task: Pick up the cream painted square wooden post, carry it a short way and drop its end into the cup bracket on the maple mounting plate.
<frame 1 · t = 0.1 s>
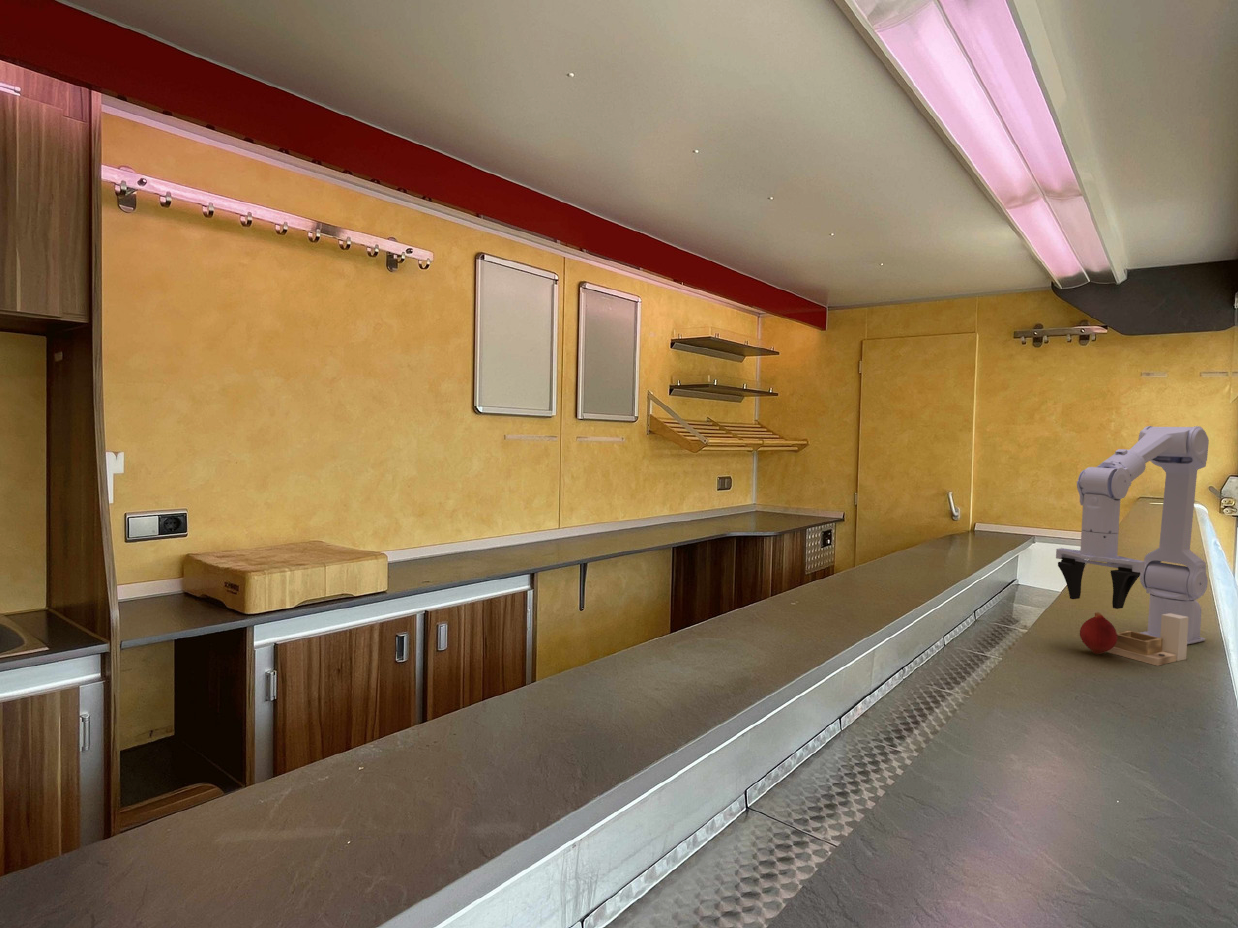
hand: (1095, 603, 131), 10 cm above the counter, tool pointing down, fingers open, 7 cm apart
onion: (1097, 655, 132), on the counter
post: (1172, 657, 131), on the counter
bracket: (1136, 655, 132), on the counter
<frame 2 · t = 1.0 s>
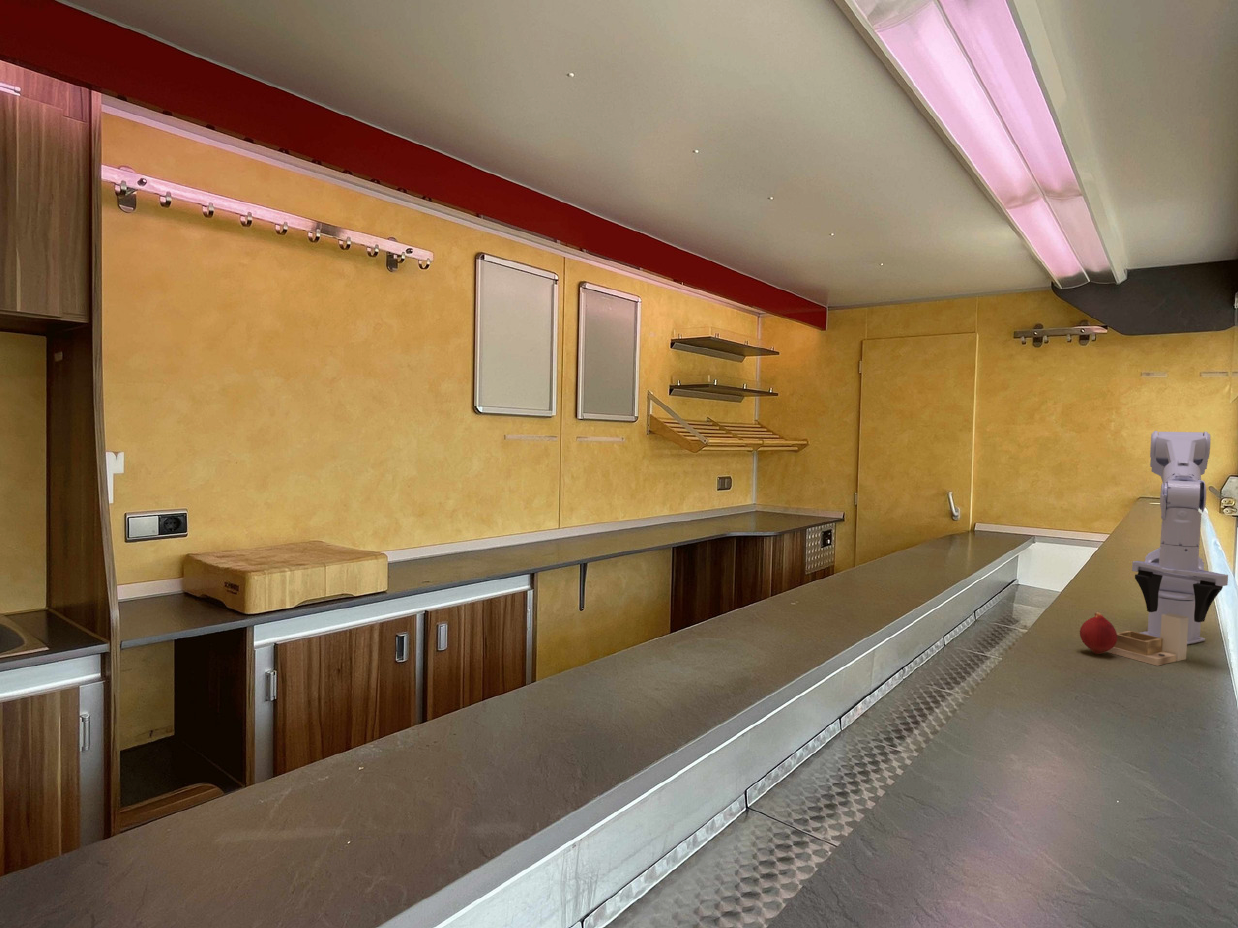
hand: (1175, 616, 131), 8 cm above the counter, tool pointing down, fingers open, 7 cm apart
nothing on the counter moved.
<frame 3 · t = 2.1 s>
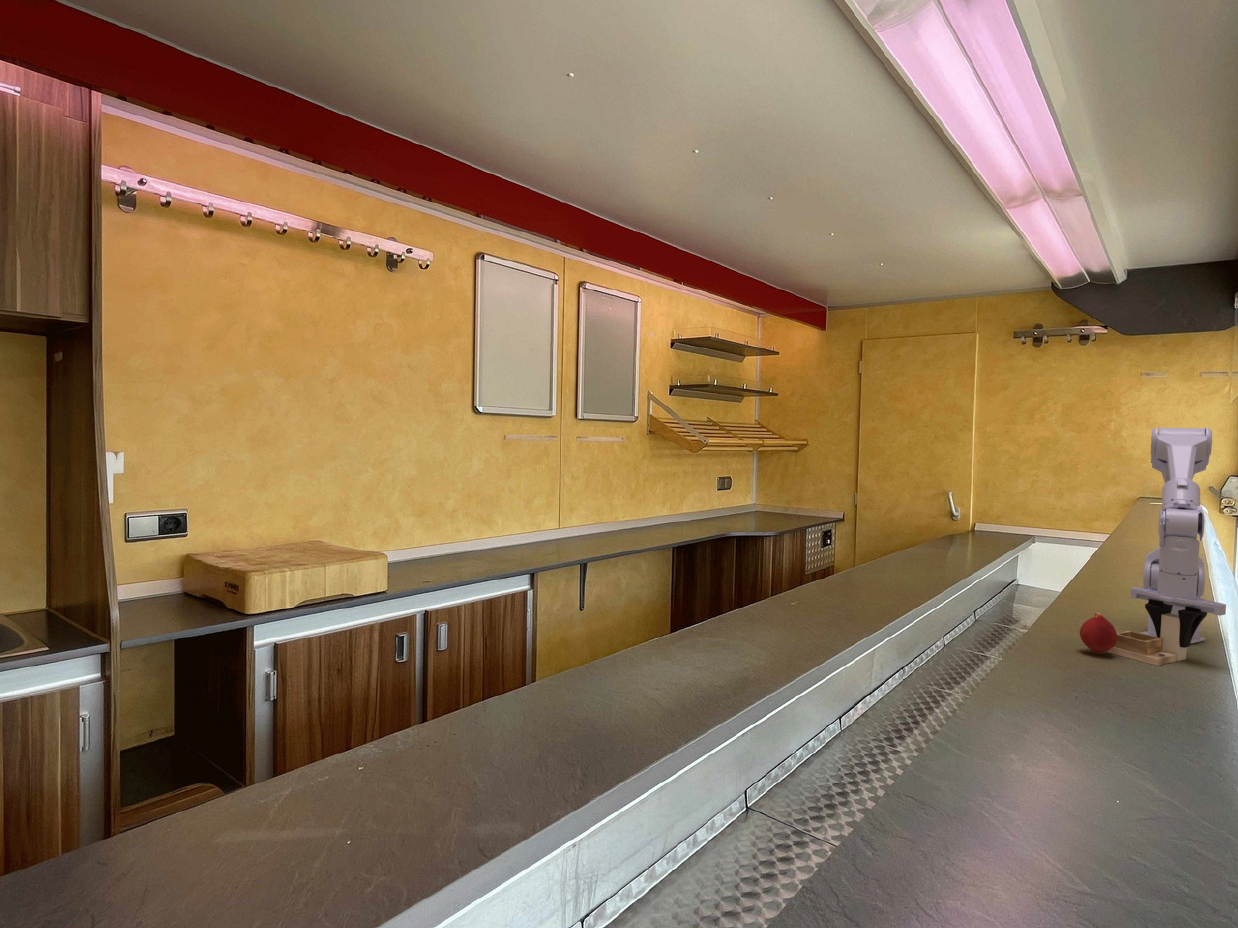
hand: (1173, 643, 131), 3 cm above the counter, tool pointing down, fingers closed on post, 3 cm apart
post: (1172, 657, 131), on the counter, touching gripper
everything else where it was.
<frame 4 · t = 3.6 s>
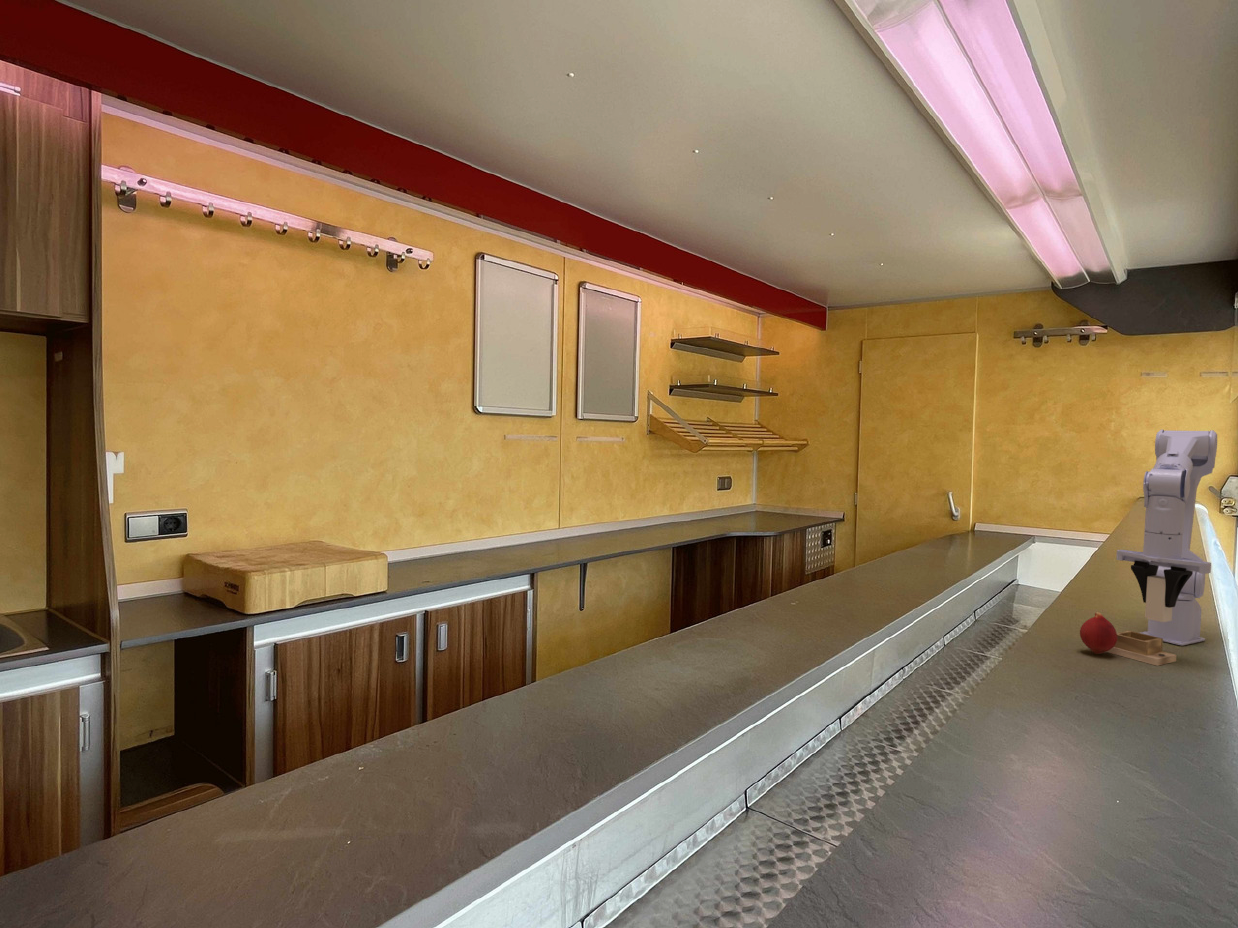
hand: (1158, 604, 131), 10 cm above the counter, tool pointing down, fingers closed on post, 3 cm apart
post: (1158, 619, 131), point 7 cm above the counter, touching gripper
everything else where it was.
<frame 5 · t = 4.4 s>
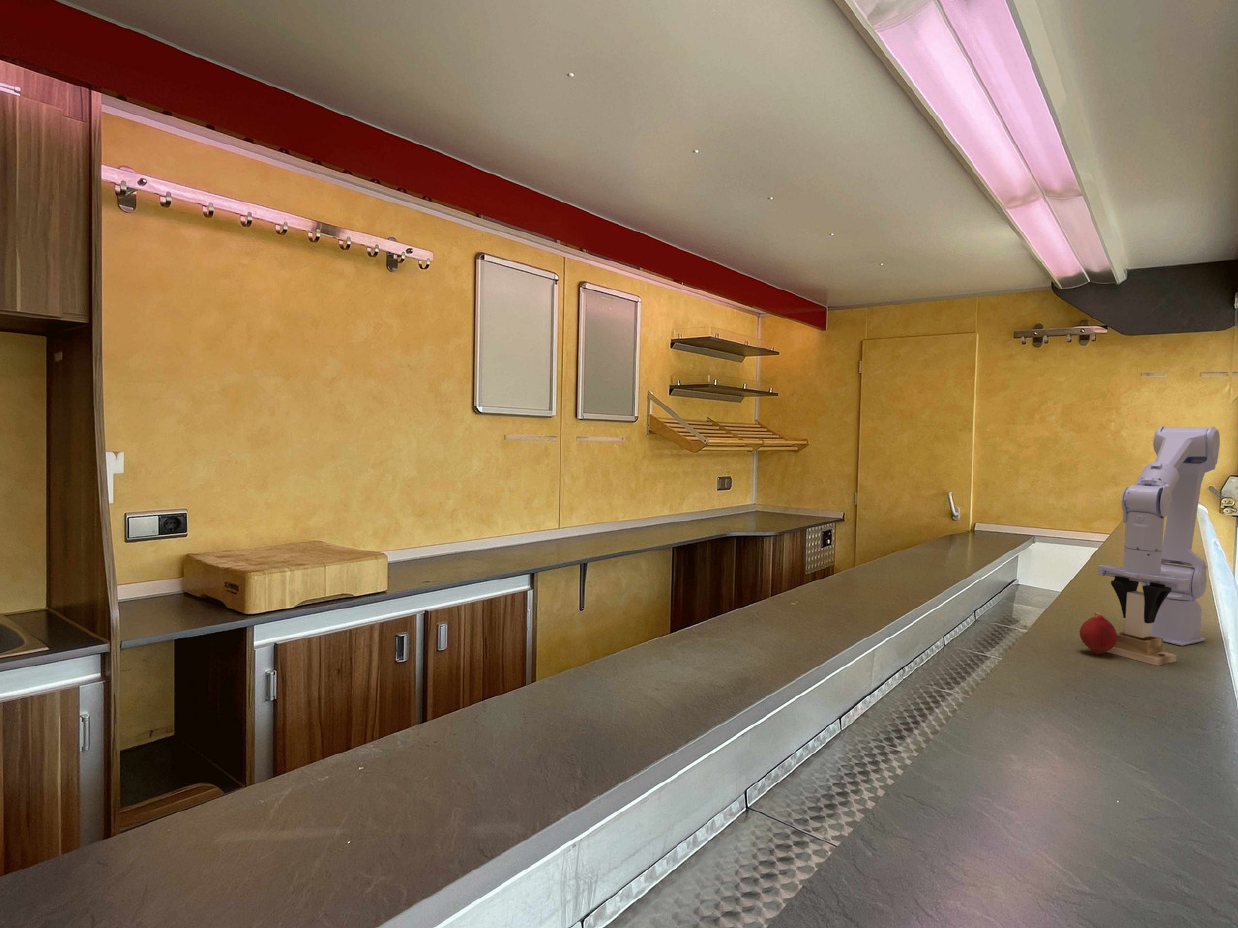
hand: (1138, 620, 131), 7 cm above the counter, tool pointing down, fingers closed on post, 3 cm apart
post: (1137, 634, 132), point 4 cm above the counter, touching gripper
everything else where it was.
when the fingers open (5 cm above the counter, at t = 5.1 s): post stays where it is, resting on bracket.
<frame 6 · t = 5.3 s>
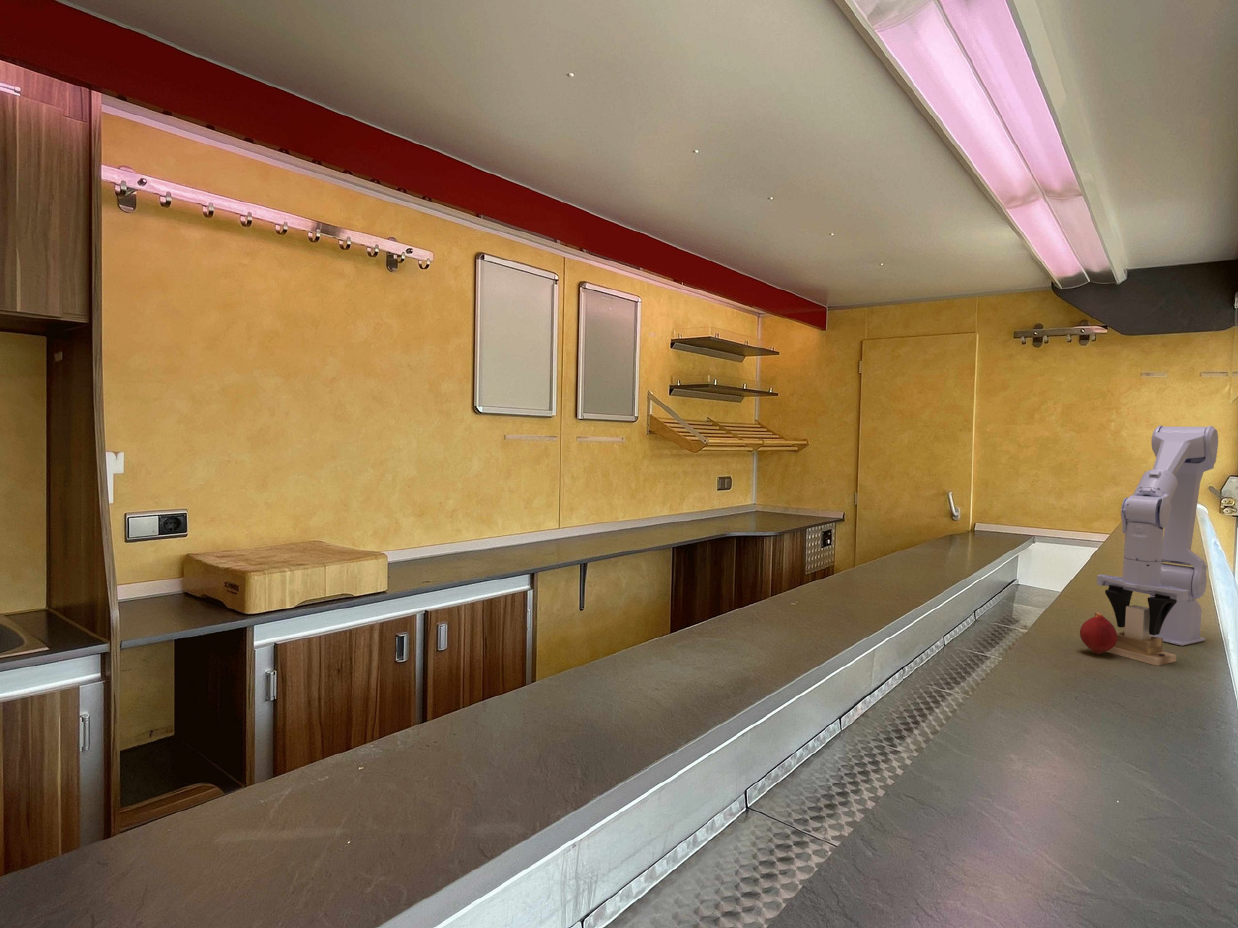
hand: (1138, 630, 132), 5 cm above the counter, tool pointing down, fingers open, 5 cm apart
post: (1136, 649, 132), point 1 cm above the counter, touching bracket
everything else where it was.
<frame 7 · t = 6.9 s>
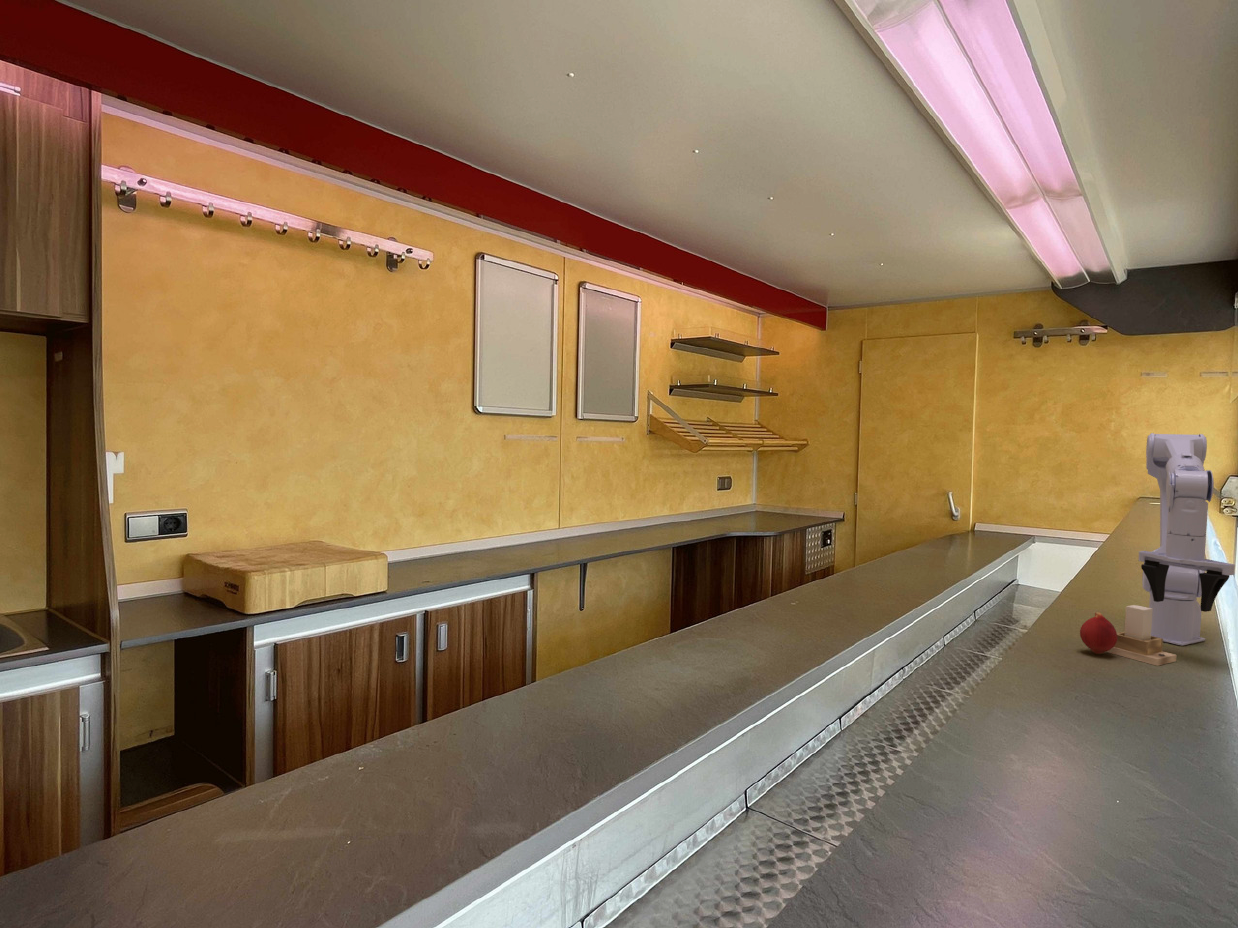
hand: (1181, 605, 131), 10 cm above the counter, tool pointing down, fingers open, 7 cm apart
nothing on the counter moved.
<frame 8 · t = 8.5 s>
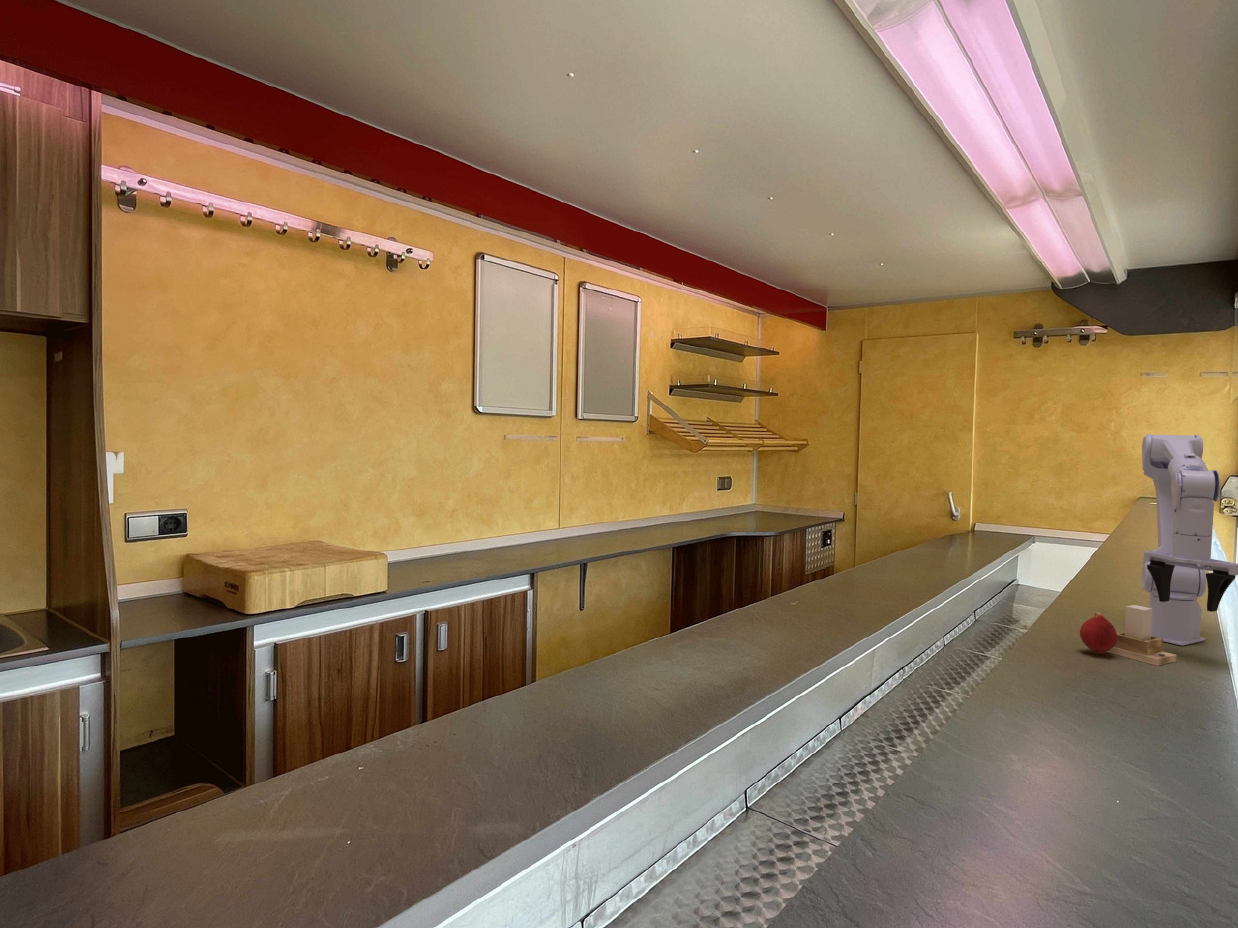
hand: (1187, 605, 131), 10 cm above the counter, tool pointing down, fingers open, 7 cm apart
nothing on the counter moved.
at the end: post 0.0 cm off-centre on the bracket, point 1.2 cm above the bracket's base; post tilted 0°; the gripper is holding nothing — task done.
